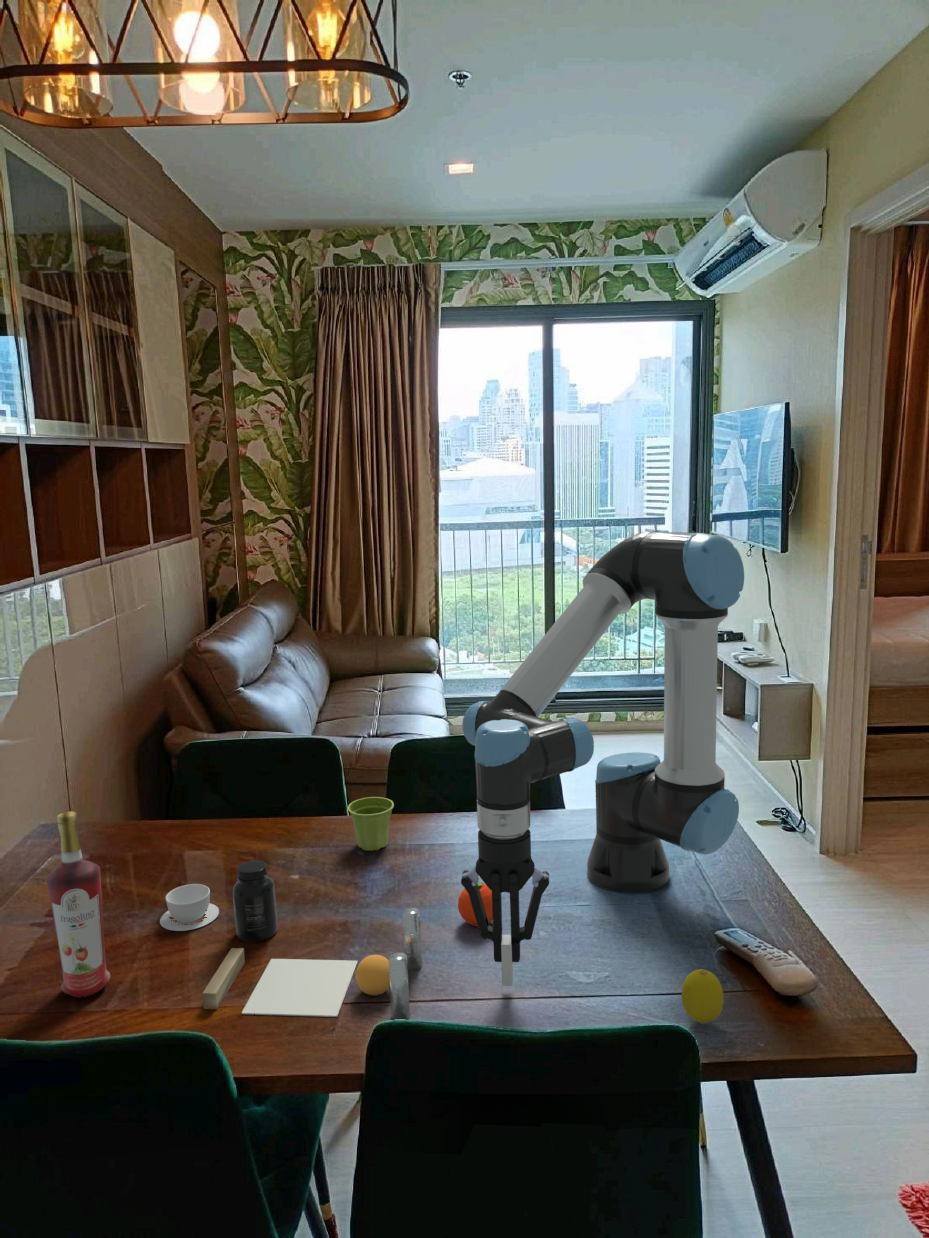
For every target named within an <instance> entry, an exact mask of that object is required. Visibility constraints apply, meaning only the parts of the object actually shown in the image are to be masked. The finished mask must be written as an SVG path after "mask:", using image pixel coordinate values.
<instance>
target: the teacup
mask: <svg viewBox="0 0 929 1238" xmlns="http://www.w3.org/2000/svg"><path fill="white" fill-rule="evenodd" d="M210 897H211V890H210V888H209V887H208V886H207V885H204V884H200V883H192V884H191V883H190V884H185V885H181V886H178V887H175V888H173V889H172V890H170V891H169V892H168V893H167V894H166V895H165V897H164V899H165V903H166V906H167V911H165V912H164V913H163V914H162V915H161V917H160V919H159V925H160V926H161V927H162V928H164V929H165V930H169V931H173V932H174V931H175V932H185V931H191V930H196V929H199V928H202V927H204V926H207V925H209V924H210V923H212V922H213V921H214V920H216V918H218V916H219V915H220V909H219V907H218V906H217V905H215V904H213V903H210V901H211V899H210ZM206 910H207V911H206ZM204 914H206V915H205V916H204V917H207V918H204V919H202V920H203V921H202V922H198V923H197V922H195V921H197V920H199V919H201V918H202V917H203V915H204ZM169 917H173V918H174V919H170V918H169ZM171 920H172V921H171ZM173 920H177V921H178V922H176V923H175V921H174V922H173ZM179 922H180V923H179ZM192 922H194V923H192ZM178 924H179V925H178ZM182 924H183V925H182ZM184 924H188V925H184ZM190 924H193V925H190Z"/></svg>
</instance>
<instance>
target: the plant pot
mask: <svg viewBox="0 0 929 1238" xmlns="http://www.w3.org/2000/svg"><path fill="white" fill-rule="evenodd" d="M394 807H395V804H394V801H393V800H392V799H389V798H387V797H386V798H385V797H381V796H369V797H362V798H359V799H356V800H353V801H351V803H349V804H348V806H347V811H348V813H350V817H351V818H352V822H353V827H354V832H355V837H356V841H357V846H358V848H361V849H362V850H363V851H368V852H369V851H372V852H373V851H374V850H375V851H378V850H380V849H381V848H385V847H387V846H388V843H389V831H390V822H391V814H392V812H393V809H394Z"/></svg>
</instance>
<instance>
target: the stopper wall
mask: <svg viewBox="0 0 929 1238" xmlns="http://www.w3.org/2000/svg"><path fill="white" fill-rule="evenodd" d="M245 964H246V960H245V948H244V947H238V948H235V947H232V948H230V950H229V951H228V953H227V954H226V955H225V957H224V959H223V960H222V962H221V964H220V965H219V967H218V969H217V970H216V972H215V973H214V974H213V976H212V978H211V979H210V981H209V982H208V984H207V986H206V987H205V989H204V990H203V992H202V1001H203V1002H202V1003H203V1009H204V1010H205V1009H206V1010H217V1009H219V1007H220V1005H221V1004H222V1002H223V1001H224V999H225V996H226V995H227V994H228V992H229V990H230V988H232V985H233V984H234V982H235V981H236V979H237V977H238V975H239V973H240V972H241V970H242V968H243V967H244V966H245ZM220 1003H221V1004H220Z"/></svg>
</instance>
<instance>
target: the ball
mask: <svg viewBox="0 0 929 1238" xmlns="http://www.w3.org/2000/svg"><path fill="white" fill-rule="evenodd" d="M355 981H356V984H357V986H358V987H359V989H360V990H361V991H362V992H363V993H365V994H366V995H369V996H379V995H382V994H383V993H385V992H386V991H388V990H389V989H390V979H389V959H388V958H387V957H385V956H383V955H380V954H370V955H368V956H366V957H364V958H362V960H361V961H360V962H359V963H358V964H357V966H356V969H355Z"/></svg>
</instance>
